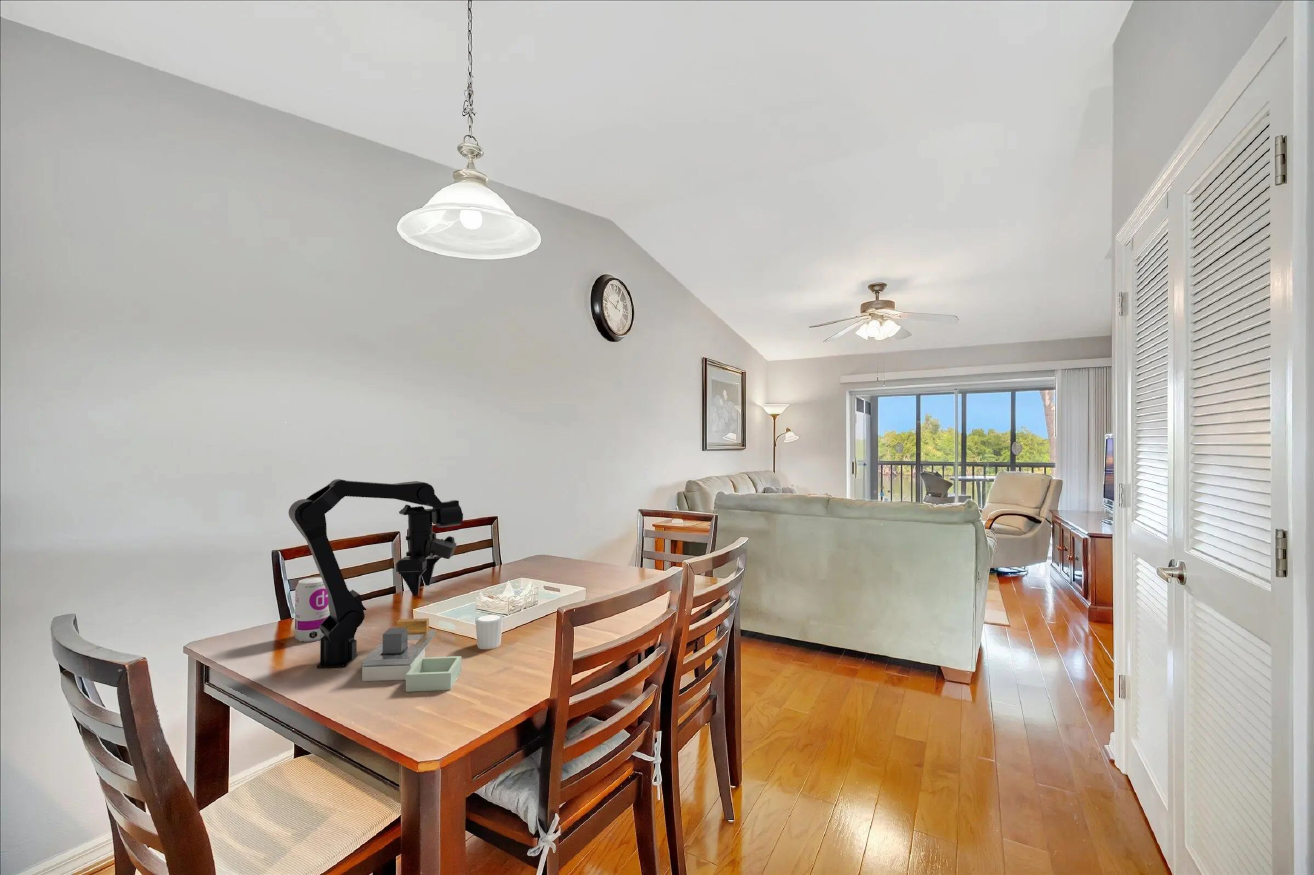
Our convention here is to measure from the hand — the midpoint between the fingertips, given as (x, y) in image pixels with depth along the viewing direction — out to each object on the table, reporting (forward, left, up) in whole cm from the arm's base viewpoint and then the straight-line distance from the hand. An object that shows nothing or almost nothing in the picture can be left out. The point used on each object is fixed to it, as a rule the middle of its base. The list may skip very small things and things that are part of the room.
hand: (421, 590), depth 142 cm
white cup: (+18, -4, -13) cm, 23 cm away
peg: (0, -18, -13) cm, 22 cm away
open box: (+10, -24, -13) cm, 30 cm away
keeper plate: (0, -14, -10) cm, 17 cm away
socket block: (0, -18, -13) cm, 22 cm away
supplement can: (-29, +6, -13) cm, 33 cm away
